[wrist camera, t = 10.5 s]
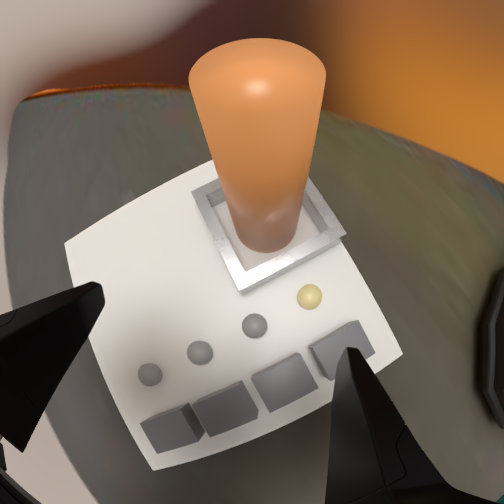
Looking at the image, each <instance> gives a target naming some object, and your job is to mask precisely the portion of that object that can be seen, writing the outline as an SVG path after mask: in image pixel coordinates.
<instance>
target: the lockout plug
mask: <svg viewBox="0 0 504 504" xmlns="http://www.w3.org/2000/svg"><path fill="white" fill-rule="evenodd" d="M325 80H326V71H325V68H324V66H323V64H322V62H321V61H320V60H319V58H317V57H316V56H315V55H314V54H313V53H312V52H310V51H308V50H307V49H305V48H303V47H301V46H299V45H296V44H294V43H290V42H287V41H283V40H277V39H267V38H255V39H254V38H253V39H244V40H238V41H234V42H230V43H227V44H224V45H221V46H219V47H217V48H215V49H213V50H211V51H209V52H208V53H206V54H205V55H203V56H202V57H201V58H200V59H199V60H198V61H197V62H196V63H195V64H194V66H193V68H192V69H191V71H190V74H189V85H190V89H191V92H192V95H193V98H194V102H195V105H196V108H197V111H198V114H199V118H200V121H201V124H202V127H203V130H204V134H205V137H206V140H207V143H208V146H209V149H210V153H211V156H212V159H213V162H214V165H215V168H216V172H217V175H218V178H219V181H220V184H221V187H222V190H223V193H224V197H225V200H226V203H227V206H228V209H229V212H230V215H231V218H232V221H233V224H234V228H235V231H236V234H237V236H238V238H239V240H240V241H241V242H242V243H243V244H244V245H245V246H246V247H247V248H249V249H251V250H253V251H256V252H260V253H272V252H276V251H279V250H281V249H283V248H284V247H286V246H287V245H288V244H289V243H290V242H291V241H292V239H293V237H294V236H295V233H296V230H297V225H298V221H299V216H300V211H301V207H302V202H303V197H304V193H305V188H306V183H307V178H308V173H309V168H310V163H311V158H312V153H313V148H314V143H315V137H316V132H317V126H318V121H319V115H320V110H321V104H322V98H323V92H324V86H325Z"/></svg>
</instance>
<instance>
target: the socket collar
mask: <svg viewBox="0 0 504 504" xmlns="http://www.w3.org/2000/svg"><path fill="white" fill-rule="evenodd" d="M191 193H192V196H193V198H194V200H195V202H196V204H197V206H198V208H199V210H200V212H201V214H202V216H203V218H204V221H205V223H206V225H207V227H208V229H209V231H210V233H211V235H212V237H213V239H214V241H215V243H216V245H217V247H218V249H219V251H220V253H221V255H222V257H223V259H224V261H225V263H226V265H227V267H228V269H229V271H230V273H231V275H232V277H233V279H234V281H235V283H236V285H237V287H238V289H239V291H240V292H241V294H242V295H244V294H246V293H248V292H250V291H252V290H254V289H256V288H258V287H260V286H262V285H264V284H265V283H267V282H269V281H271V280H273V279H275V278H277V277H279V276H281V275H283V274H285V273H286V272H288V271H290V270H292V269H294V268H296V267H298V266H300V265H301V264H303V263H305V262H307V261H309V260H311V259H313V258H314V257H316V256H318V255H320V254H322V253H324V252H325V251H327V250H329V249H331V248H333V247H334V246H336V245H338V244H340V242H341V241H342V239H343V238H344V237H345V235H346V232H345V231H344V229H343V227H342V226H341V224H340V223H339V221H338V220H337V218H336V217H335V215H334V214H333V212H332V211H331V209H330V208H329V206H328V205H327V203H326V202H325V200H324V199H323V197H322V196H321V194H320V193H319V191H318V190H317V188H316V187H315V186H314V184H313V183H312V181H311V180H310V178H309V177H308V178H307V183H306V188H305V193H304V197H303V202H302V205H303V206H304V208H305V209H306V211H307V213H308V214H309V216H310V217H311V219H312V220H313V222H314V224H315V225H316V227H317V228H318V230H319V232H320V233H321V234H319V235H317V236H315V237H313V238H311V239H309V240H307V241H306V242H304V243H302V244H300V245H298V246H296V247H294V248H292V249H290V250H288V251H286V252H284V253H283V254H281V255H279V256H277V257H275V258H273V259H271V260H269V261H267V262H265V263H263V264H261V265H259V266H257V267H255V268H253V269H252V270H250V271H248V272H246V273H245V271H244V269H243V267H242V265H241V263H240V261H239V260H238V258H237V256H236V254H235V252H234V250H233V248H232V246H231V244H230V242H229V240H228V238H227V236H226V234H225V232H224V231H223V229H222V227H221V225H220V223H219V221H218V219H217V217H216V215H215V213H214V211H213V209H212V207H214V206H216V205H218V204H220V203H222V202H224V201H226V200H225V197H224V193H223V190H222V187H221V184H220V181H219V178H217V179H215V180H213V181H211V182H209V183H207V184H205V185H203V186H201V187H199V188H197V189H195V190H193V191H191Z"/></svg>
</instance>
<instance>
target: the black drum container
mask: <svg viewBox="0 0 504 504" xmlns="http://www.w3.org/2000/svg"><path fill="white" fill-rule="evenodd" d="M478 384H479V386H480V388H481V390H482V392H483V394H484V396H485V398H486V400H487V403H488V405H489V407H490V409H491V411H492V414H493V415H494V417H495V419H496V422H497V424H498V426H499V427H501V428H502V429H504V268H503V269H502V270H501V271H500V274H499V278H498V280H496V281H495V282H494V284H493V287H492V291H491V294H490V297H489V300H488V303H487V306H486V309H485V312H484V315H483V318H482V321H481V323H480V326H479V364H478Z"/></svg>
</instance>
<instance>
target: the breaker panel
mask: <svg viewBox="0 0 504 504" xmlns="http://www.w3.org/2000/svg"><path fill="white" fill-rule="evenodd" d="M217 178H218V175H217V172H216V168H215V165H214V162H213V160H211V161H209V162H206V163H204V164H202V165H200V166H198V167H196V168H194V169H192V170H190V171H188V172H186V173H184V174H182V175H180V176H178V177H176V178H174V179H172V180H170V181H168V182H166V183H164V184H162V185H161V186H159V187H157V188H155V189H153V190H151V191H149V192H148V193H146V194H144V195H142V196H140V197H139V198H137V199H135V200H133V201H132V202H130V203H128V204H126V205H125V206H123V207H121V208H120V209H118V210H116V211H114V212H113V213H111V214H109V215H108V216H106V217H105V218H103V219H101V220H100V221H98V222H96V223H95V224H93V225H92V226H90V227H89V228H87V229H85V230H84V231H82V232H81V233H79V234H78V235H76V236H75V237H73V238H72V239H70V240H69V241H67V242H66V243H64V244H65V249H66V254H67V259H68V264H69V269H70V273H71V277H72V282H73V286H74V287H77V286H80V285H82V284H85V283H88V282H91V281H94V282H97V283H100V284H101V285H102V287H103V292H104V297H105V306H104V308H103V310H102V312H101V313H100V315H99V317H98V319H97V321H96V323H95V325H94V327H93V329H92V330H91V332H90V334H89V336H88V337H89V340H90V342H91V345H92V348H93V351H94V353H95V356H96V359H97V361H98V364H99V366H100V369H101V371H102V374H103V376H104V379H105V381H106V383H107V386H108V388H109V390H110V392H111V395H112V397H113V399H114V401H115V403H116V405H117V407H118V409H119V411H120V413H121V415H122V417H123V419H124V421H125V423H126V425H127V427H128V429H129V431H130V433H131V434H132V436H133V438H134V440H135V442H136V443H137V445H138V447H139V449H140V450H141V452H142V454H143V455H144V457H145V459H146V460H147V462H148V463H149V465H150V466H151V468H152V470H153V471H155V470H159V469H163V468H167V467H171V466H175V465H179V464H183V463H186V462H190V461H193V460H196V459H200V458H203V457H206V456H209V455H212V454H215V453H218V452H221V451H224V450H227V449H229V448H232V447H235V446H238V445H240V444H243V443H245V442H248V441H250V440H253V439H255V438H258V437H260V436H262V435H265V434H267V433H269V432H271V431H274V430H276V429H278V428H280V427H282V426H285V425H287V424H289V423H291V422H293V421H295V420H297V419H299V418H301V417H303V416H305V415H307V414H309V413H311V412H313V411H314V410H316V409H318V408H320V407H322V406H324V405H325V404H327V403H329V402H331V401H332V397H333V390H334V383H335V375H336V367H337V363H338V361H339V359H340V357H341V355H342V353H343V351H344V349H345V348H346V347H354V348H358V349H359V350H360V352H361V353H362V355H363V356H364V358H365V360H366V361H367V363H368V364H369V366H370V367H371V369H372V370H373V372H374V374H376V373H377V372H379V371H380V370H381V369H383V368H384V367H386V366H387V365H389V364H390V363H391V362H393V361H394V360H395V359H397V358H398V357H400V356H401V355H402V354H403V353H402V351H401V349H400V347H399V345H398V343H397V341H396V339H395V337H394V335H393V333H392V331H391V329H390V327H389V325H388V323H387V321H386V319H385V317H384V316H383V314H382V312H381V310H380V308H379V306H378V304H377V303H376V301H375V299H374V297H373V295H372V293H371V292H370V290H369V288H368V286H367V285H366V283H365V281H364V279H363V278H362V276H361V274H360V272H359V271H358V269H357V267H356V265H355V264H354V262H353V260H352V259H351V257H350V255H349V254H348V252H347V250H346V249H345V247H344V246H343V244H342V242H340V244H338V245H336V246H334V247H333V248H331V249H329V250H327V251H325V252H324V253H322V254H320V255H318V256H316V257H314V258H313V259H311V260H309V261H307V262H305V263H303V264H301V265H300V266H298V267H296V268H294V269H292V270H290V271H288V272H286V273H285V274H283V275H281V276H279V277H277V278H275V279H273V280H271V281H269V282H267V283H265V284H264V285H262V286H260V287H258V288H256V289H254V290H252V291H250V292H248V293H246V294H244V295H242V294H241V292H240V291H239V289H238V287H237V285H236V283H235V281H234V279H233V277H232V275H231V273H230V271H229V269H228V267H227V265H226V263H225V261H224V259H223V257H222V255H221V253H220V251H219V249H218V247H217V245H216V243H215V241H214V239H213V237H212V235H211V233H210V231H209V229H208V227H207V225H206V223H205V221H204V218H203V216H202V214H201V212H200V210H199V208H198V206H197V204H196V202H195V200H194V198H193V196H192V193H191V191H193V190H195V189H197V188H199V187H201V186H203V185H205V184H207V183H209V182H211V181H213V180H215V179H217ZM212 209H213V211H214V213H215V215H216V217H217V219H218V221H219V223H220V225H221V227H222V229H223V231H224V232H225V234H226V236H227V238H228V240H229V242H230V244H231V246H232V248H233V250H234V252H235V254H236V256H237V258H238V260H239V261H240V263H241V265H242V267H243V269H244V271H245V273H246V272H248V271H250V270H252V269H253V268H255V267H257V266H259V265H261V264H263V263H265V262H267V261H269V260H271V259H273V258H275V257H277V256H279V255H281V254H283V253H284V252H286V251H288V250H290V249H292V248H294V247H296V246H298V245H300V244H302V243H304V242H306V241H307V240H309V239H311V238H313V237H315V236H317V235H319V234H321V233H320V232H319V230H318V228H317V227H316V225H315V224H314V222H313V220H312V219H311V217H310V216H309V214H308V213H307V211H306V209H305V208H304V206H303V205H302V207H301V211H300V216H299V221H298V225H297V230H296V233H295V236H294V237H293V239H292V241H291V242H290V243H289V244H288V245H287V246H286V247H284V248H283V249H281V250H279V251H276V252H272V253H260V252H256V251H253V250H251V249H249V248H247V247H246V246H245V245H244V244H243V243H242V242H241V241H240V240H239V238H238V236H237V234H236V231H235V228H234V224H233V221H232V218H231V215H230V212H229V209H228V206H227V203H226V201H224V202H222V203H220V204H218V205H216V206H214V207H212Z"/></svg>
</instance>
